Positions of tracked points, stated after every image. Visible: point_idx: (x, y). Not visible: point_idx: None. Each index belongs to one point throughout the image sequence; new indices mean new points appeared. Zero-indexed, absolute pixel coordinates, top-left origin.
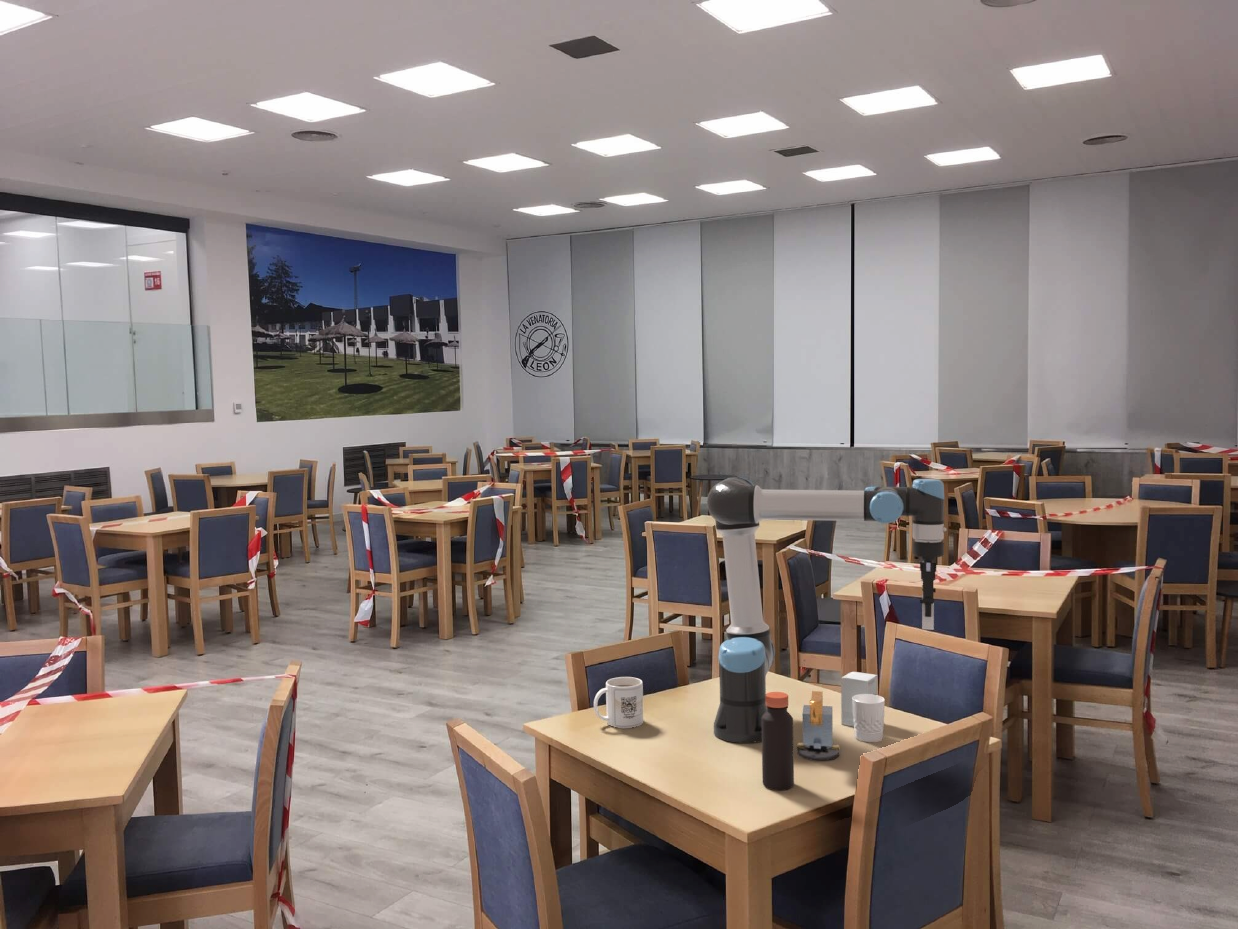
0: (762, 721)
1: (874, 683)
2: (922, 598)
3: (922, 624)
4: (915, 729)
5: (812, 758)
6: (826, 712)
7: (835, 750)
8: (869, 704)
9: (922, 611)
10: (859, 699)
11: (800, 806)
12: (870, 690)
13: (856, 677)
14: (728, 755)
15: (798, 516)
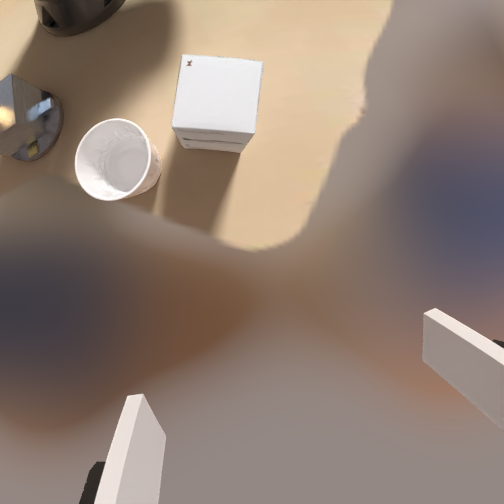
0: None
1: (224, 136)
2: (498, 363)
3: (123, 414)
4: (230, 234)
5: None
6: None
7: (25, 155)
8: (77, 176)
9: (103, 471)
10: (136, 129)
11: None
12: (194, 135)
13: (194, 89)
14: (4, 39)
15: None
